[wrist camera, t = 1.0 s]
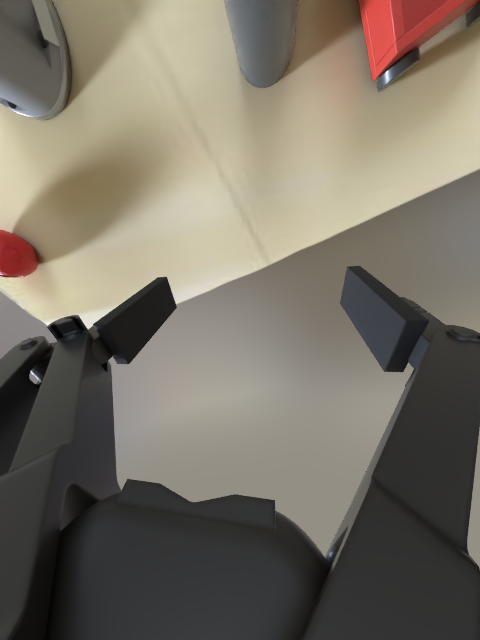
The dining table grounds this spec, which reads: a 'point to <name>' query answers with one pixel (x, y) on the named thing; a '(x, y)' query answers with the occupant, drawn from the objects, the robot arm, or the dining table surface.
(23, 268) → the pomegranate
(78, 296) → the dining table surface
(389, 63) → the cart
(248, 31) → the tin
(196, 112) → the dining table surface
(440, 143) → the dining table surface
